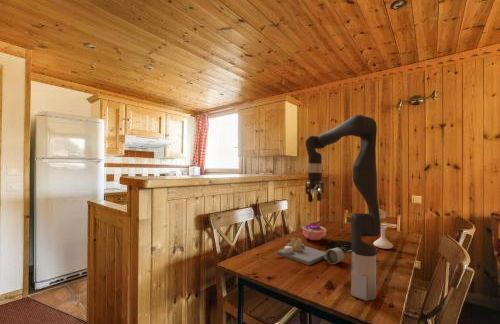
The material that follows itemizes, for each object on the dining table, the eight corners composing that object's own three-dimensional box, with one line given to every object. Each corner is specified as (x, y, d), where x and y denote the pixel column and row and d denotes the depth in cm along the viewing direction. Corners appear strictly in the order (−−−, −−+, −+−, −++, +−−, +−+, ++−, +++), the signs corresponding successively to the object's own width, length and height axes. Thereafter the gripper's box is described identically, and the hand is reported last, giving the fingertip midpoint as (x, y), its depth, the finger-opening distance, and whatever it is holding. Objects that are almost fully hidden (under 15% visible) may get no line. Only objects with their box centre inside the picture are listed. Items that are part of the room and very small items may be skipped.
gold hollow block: (297, 252, 143) (297, 241, 143) (287, 249, 148) (287, 238, 148) (304, 250, 148) (304, 239, 148) (294, 247, 153) (295, 236, 153)
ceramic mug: (345, 262, 134) (345, 248, 135) (337, 266, 129) (337, 251, 129) (328, 257, 142) (328, 243, 143) (320, 260, 137) (320, 246, 137)
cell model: (300, 242, 170) (300, 225, 170) (303, 234, 189) (303, 220, 189) (326, 244, 165) (326, 228, 165) (325, 236, 184) (326, 221, 184)
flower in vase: (397, 249, 157) (397, 210, 158) (384, 251, 153) (384, 211, 154) (379, 243, 169) (379, 207, 170) (367, 245, 165) (367, 208, 166)
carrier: (308, 265, 129) (308, 255, 130) (277, 254, 146) (277, 244, 146) (328, 256, 143) (328, 247, 143) (297, 247, 159) (298, 238, 159)
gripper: (313, 171, 127) (313, 203, 127) (327, 172, 137) (327, 201, 136) (301, 171, 133) (301, 201, 132) (316, 171, 142) (316, 199, 142)
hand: (314, 201), depth 134 cm, fingers open, 8 cm apart
